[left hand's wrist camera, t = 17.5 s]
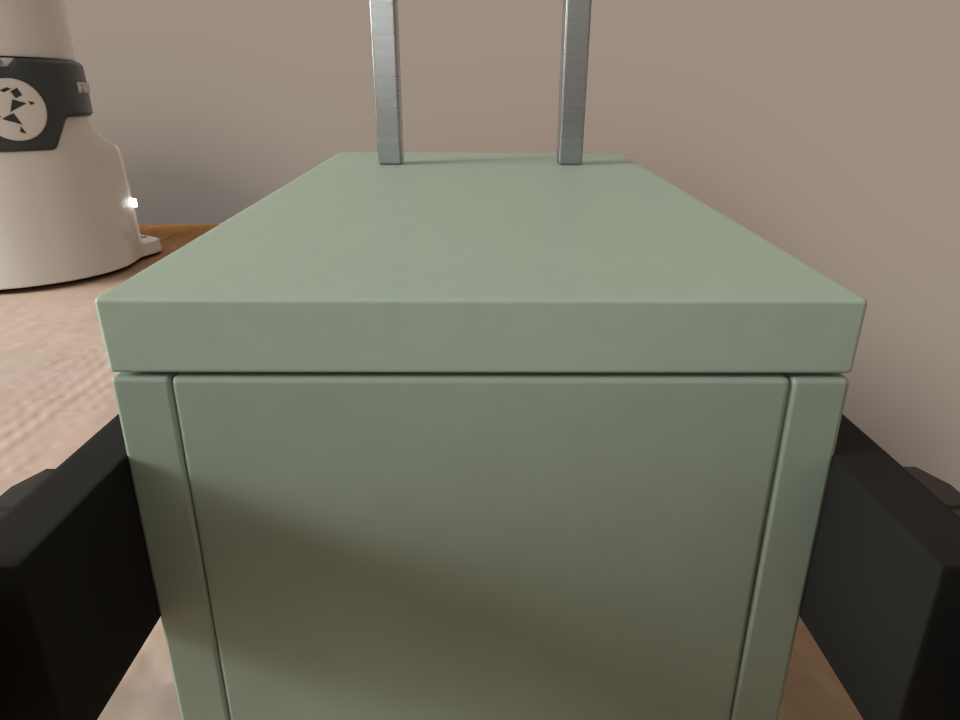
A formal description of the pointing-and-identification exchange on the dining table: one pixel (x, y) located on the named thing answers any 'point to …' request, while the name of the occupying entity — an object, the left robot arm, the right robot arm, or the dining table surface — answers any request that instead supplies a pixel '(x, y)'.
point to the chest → (479, 539)
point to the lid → (480, 266)
